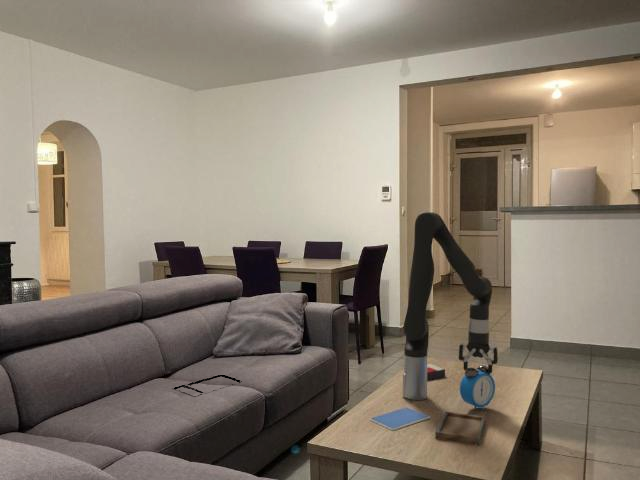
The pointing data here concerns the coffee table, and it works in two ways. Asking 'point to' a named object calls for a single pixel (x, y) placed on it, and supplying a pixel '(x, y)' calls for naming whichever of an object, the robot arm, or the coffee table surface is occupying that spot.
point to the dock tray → (461, 428)
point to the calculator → (434, 372)
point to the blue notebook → (399, 418)
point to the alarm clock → (477, 386)
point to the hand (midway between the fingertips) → (477, 372)
